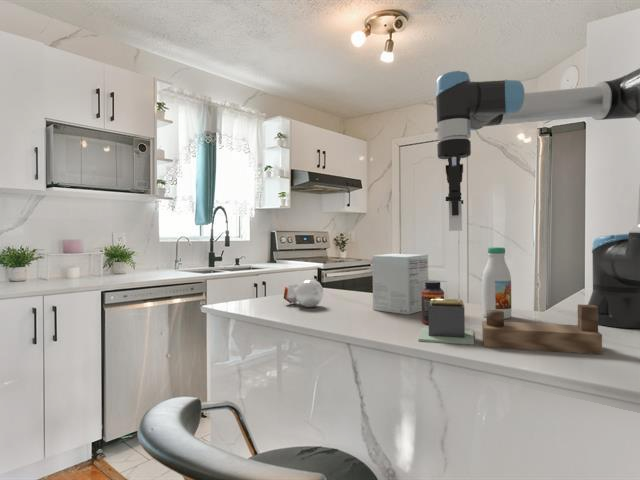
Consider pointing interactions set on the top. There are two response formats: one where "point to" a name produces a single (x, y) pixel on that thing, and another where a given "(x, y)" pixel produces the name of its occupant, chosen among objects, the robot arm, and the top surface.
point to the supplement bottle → (430, 297)
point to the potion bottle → (305, 293)
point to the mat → (447, 338)
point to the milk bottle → (496, 283)
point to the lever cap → (446, 318)
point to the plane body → (545, 333)
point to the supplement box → (399, 282)
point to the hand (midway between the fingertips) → (455, 230)
